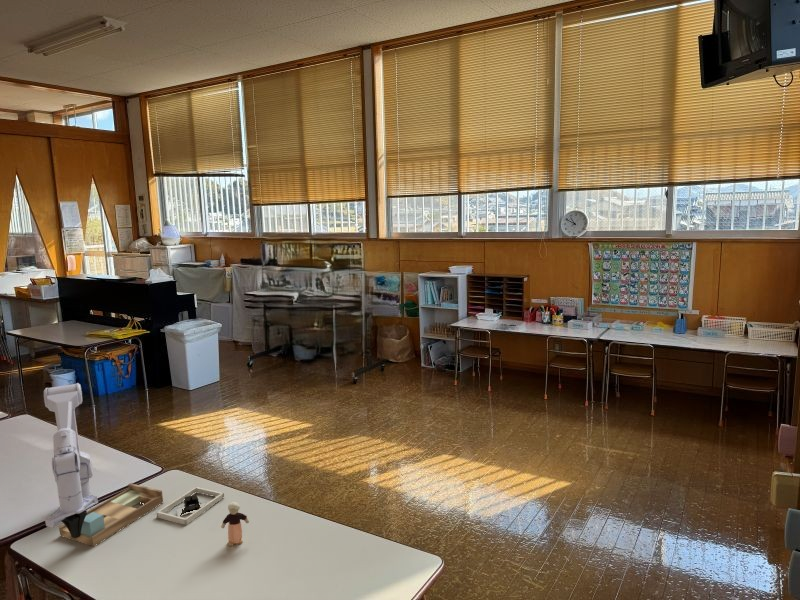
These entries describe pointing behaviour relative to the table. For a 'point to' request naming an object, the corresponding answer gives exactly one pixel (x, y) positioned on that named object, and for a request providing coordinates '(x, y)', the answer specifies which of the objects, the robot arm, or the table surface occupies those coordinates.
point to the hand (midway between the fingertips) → (76, 536)
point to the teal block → (92, 524)
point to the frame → (190, 518)
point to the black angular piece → (190, 501)
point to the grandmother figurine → (234, 524)
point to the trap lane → (120, 512)
